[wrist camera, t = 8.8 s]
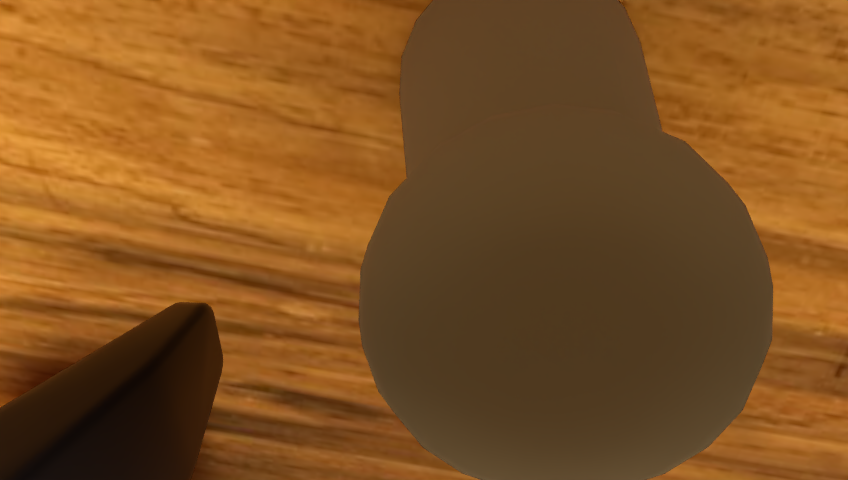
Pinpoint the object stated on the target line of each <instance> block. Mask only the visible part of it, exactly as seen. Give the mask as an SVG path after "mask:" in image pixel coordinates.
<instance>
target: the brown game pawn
mask: <svg viewBox="0 0 848 480" xmlns="http://www.w3.org/2000/svg"><path fill="white" fill-rule="evenodd" d="M399 94H400V105H401V117H402V129H403V140H404V152H405V163H406V175H407V178H406V179H405V180H404V182H403V183H402V184H401V185H400V186H399V187H398V188H397V189H396V190H395V191H394V192H393V193H392V194H391V195H390V196H389V198H388V201H387V203H386V205H385V208H384V210H383V212H382V214H381V217H380V219H379V221H378V224H377V226H376V228H375V230H374V233H373V235H372V237H371V240H370V242H369V244H368V247H367V250H366V253H365V256H364V260H363V263H362V266H361V272H360V299H359V326H360V333H361V340H362V346H363V349H364V352H365V355H366V358H367V360H368V363H369V366H370V369H371V372H372V374H373V377H374V380H375V383H376V386H377V388H378V391H379V393H380V394H381V395H382V397H383V398H384V399H385V401H386V402H387V404H388V405H389V406H390V408H391V409H392V410H393V412H394V413H395V414H396V415H397V417H398V418H399V419H400V420H401V421H402V423H403V424H404V425H405V426H406V427H407V429H408V430H409V431H410V432H411V434H412V435H413V436H414V437H415V438H416V440H417V441H418V442H419V443H420V444H421V446H422V447H423V448H425V449H426V450H428V451H429V452H431V453H432V454H434V455H435V456H437V457H438V458H440V459H441V460H443V461H444V462H446V463H447V464H449V465H451V466H452V467H454V468H455V469H457V470H458V471H460V472H461V473H463V474H466V475H469V476H472V477H475V478H477V479H480V480H646V479H649V478H653V477H656V476H659V475H662V474H665V473H666V472H668V471H669V470H671V469H673V468H674V467H676V466H678V465H679V464H681V463H683V462H684V461H686V460H688V459H689V458H691V457H692V456H694V455H696V454H697V453H699V452H701V451H702V450H704V449H706V448H707V447H709V446H710V445H711V444H712V442H713V441H714V440H715V439H716V438H717V437H718V436H719V435H720V434H721V433H722V432H723V431H724V430H725V428H726V427H727V426H728V425H729V424H730V423H731V422H732V421H733V420H734V419H735V418H736V417H737V416H738V414H739V413H740V412H741V411H742V410H743V408H744V406H745V403H746V401H747V399H748V396H749V394H750V392H751V390H752V387H753V385H754V383H755V380H756V378H757V376H758V374H759V371H760V369H761V367H762V364H763V362H764V359H765V356H766V354H767V351H768V349H769V346H770V343H771V341H772V316H773V284H772V278H771V273H770V268H769V263H768V257H767V255H766V253H765V250H764V248H763V246H762V243H761V241H760V239H759V236H758V234H757V232H756V229H755V227H754V225H753V222H752V220H751V218H750V215H749V213H748V211H747V208H746V206H745V204H744V203H743V202H742V200H741V199H740V198H739V197H738V195H737V194H736V193H735V191H734V190H733V189H732V188H731V186H730V185H729V184H728V183H727V182H726V181H725V180H724V179H723V178H722V177H721V176H720V175H719V174H718V173H717V172H716V171H715V170H714V169H713V168H712V167H711V166H710V165H709V164H708V163H707V162H706V161H705V160H704V159H703V158H702V157H700V156H699V155H698V154H697V153H696V152H695V151H694V150H693V149H692V148H691V147H690V146H689V145H688V144H687V143H686V142H685V141H683V140H680V139H678V138H676V137H673V136H671V135H669V134H667V133H664V132H662V128H661V124H660V120H659V115H658V111H657V107H656V103H655V99H654V95H653V91H652V87H651V83H650V79H649V75H648V71H647V67H646V63H645V59H644V55H643V51H642V47H641V43H640V41H639V38H638V36H637V34H636V32H635V30H634V27H633V25H632V23H631V21H630V18H629V16H628V14H627V12H626V10H625V7H624V6H623V5H622V4H621V3H620V2H619V1H618V0H433V1H432V2H431V3H430V5H429V6H428V7H427V8H426V9H425V11H424V12H423V13H422V14H421V15H420V17H419V18H418V19H417V20H416V22H415V25H414V27H413V30H412V32H411V35H410V37H409V40H408V42H407V45H406V47H405V50H404V52H403V55H402V61H401V77H400V93H399Z"/></svg>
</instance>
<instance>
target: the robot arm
mask: <svg viewBox="0 0 848 480" xmlns="http://www.w3.org/2000/svg"><path fill="white" fill-rule="evenodd" d="M222 367H223V354H222V349H221V344H220V340H219V335H218V330H217V326H216V321H215V316H214V313H213V310H212V308H211V307H210V306H209V305H208V304H206V303H190V302H179V303H175V304H173V305H171V306H170V307H168V308H166V309H165V310H163V311H161V312H160V313H158V314H156V315H155V316H153V317H151V318H150V319H148V320H146V321H145V322H143V323H141V324H140V325H138V326H136V327H135V328H133V329H131V330H130V331H128V332H126V333H124V334H123V335H121V336H119V337H118V338H116V339H114V340H113V341H111V342H109V343H108V344H106V345H104V346H103V347H101V348H99V349H98V350H96V351H94V352H93V353H91V354H89V355H88V356H86V357H84V358H83V359H81V360H79V361H78V362H76V363H74V364H73V365H71V366H69V367H68V368H66V369H64V370H63V371H61V372H59V373H58V374H56V375H54V376H53V377H51V378H49V379H48V380H46V381H44V382H43V383H41V384H39V385H37V386H36V387H34V388H32V389H31V390H29V391H27V392H26V393H24V394H22V395H21V396H19V397H17V398H16V399H14V400H12V401H11V402H9V403H7V404H6V405H4V406H2V407H1V408H0V480H191V477H192V474H193V471H194V468H195V465H196V461H197V458H198V454H199V451H200V447H201V444H202V440H203V437H204V433H205V429H206V426H207V422H208V419H209V415H210V412H211V408H212V405H213V401H214V398H215V394H216V391H217V387H218V383H219V380H220V376H221V373H222Z"/></svg>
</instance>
